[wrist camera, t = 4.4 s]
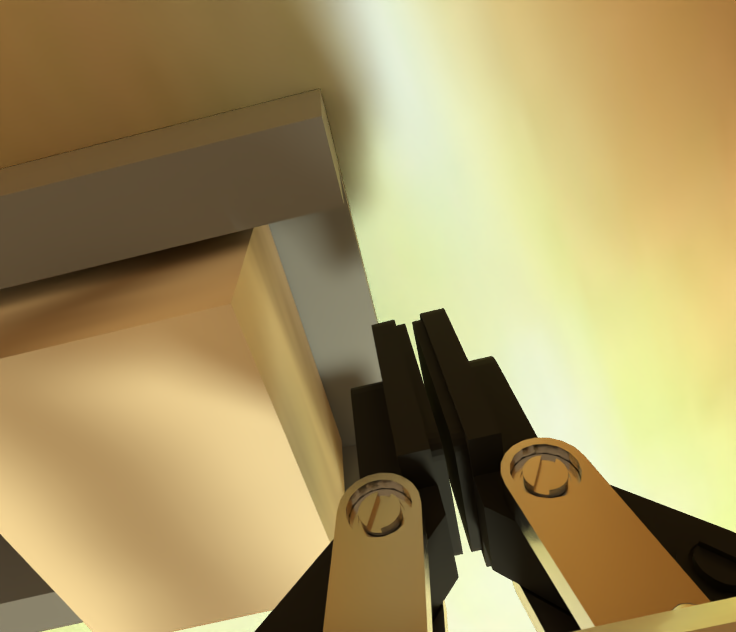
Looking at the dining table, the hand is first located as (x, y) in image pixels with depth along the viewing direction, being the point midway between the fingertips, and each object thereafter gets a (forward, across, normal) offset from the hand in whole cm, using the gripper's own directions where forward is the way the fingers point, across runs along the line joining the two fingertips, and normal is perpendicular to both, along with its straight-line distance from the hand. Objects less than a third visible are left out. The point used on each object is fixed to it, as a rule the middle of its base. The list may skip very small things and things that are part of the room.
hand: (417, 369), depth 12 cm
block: (+3, +6, 0) cm, 6 cm away
